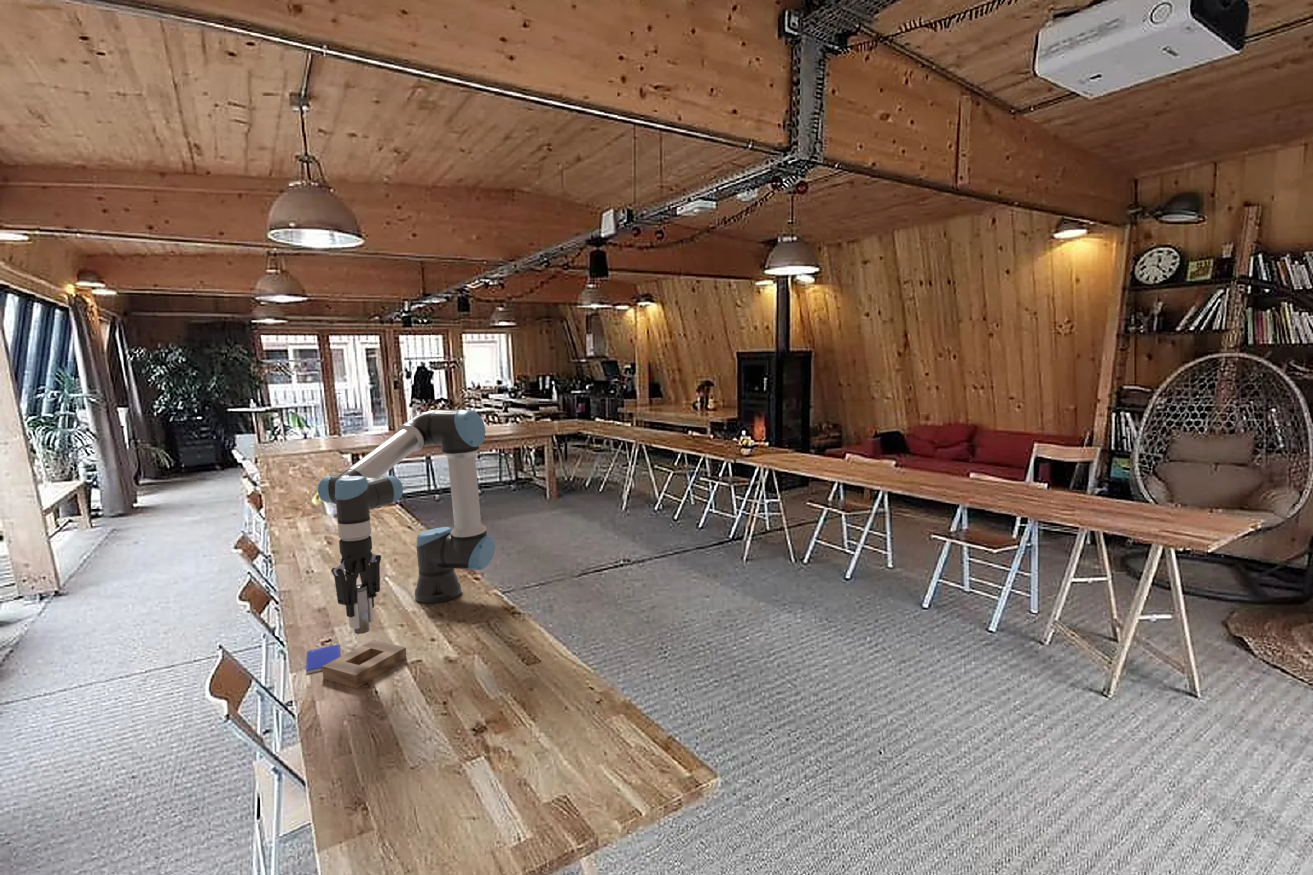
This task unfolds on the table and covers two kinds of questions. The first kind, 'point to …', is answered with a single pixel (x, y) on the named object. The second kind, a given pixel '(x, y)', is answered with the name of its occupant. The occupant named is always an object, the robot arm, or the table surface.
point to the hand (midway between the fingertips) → (361, 624)
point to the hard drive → (321, 657)
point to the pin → (362, 608)
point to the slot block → (364, 663)
